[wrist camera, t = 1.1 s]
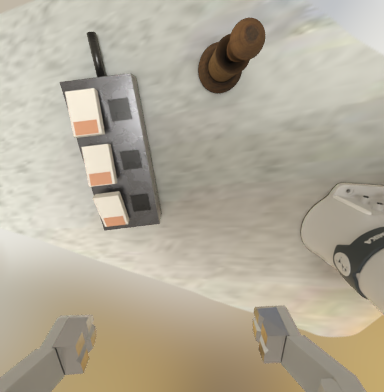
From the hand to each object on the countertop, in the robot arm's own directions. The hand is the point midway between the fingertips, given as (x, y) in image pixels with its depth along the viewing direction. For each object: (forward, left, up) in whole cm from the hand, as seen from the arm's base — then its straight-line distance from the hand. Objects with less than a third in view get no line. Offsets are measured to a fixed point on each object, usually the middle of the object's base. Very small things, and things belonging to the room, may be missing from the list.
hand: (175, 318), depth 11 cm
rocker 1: (+12, -11, -26) cm, 30 cm away
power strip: (+10, -6, -31) cm, 33 cm away
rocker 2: (+12, +4, -26) cm, 29 cm away
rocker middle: (+12, -3, -26) cm, 28 cm away
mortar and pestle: (-8, -15, -32) cm, 36 cm away
